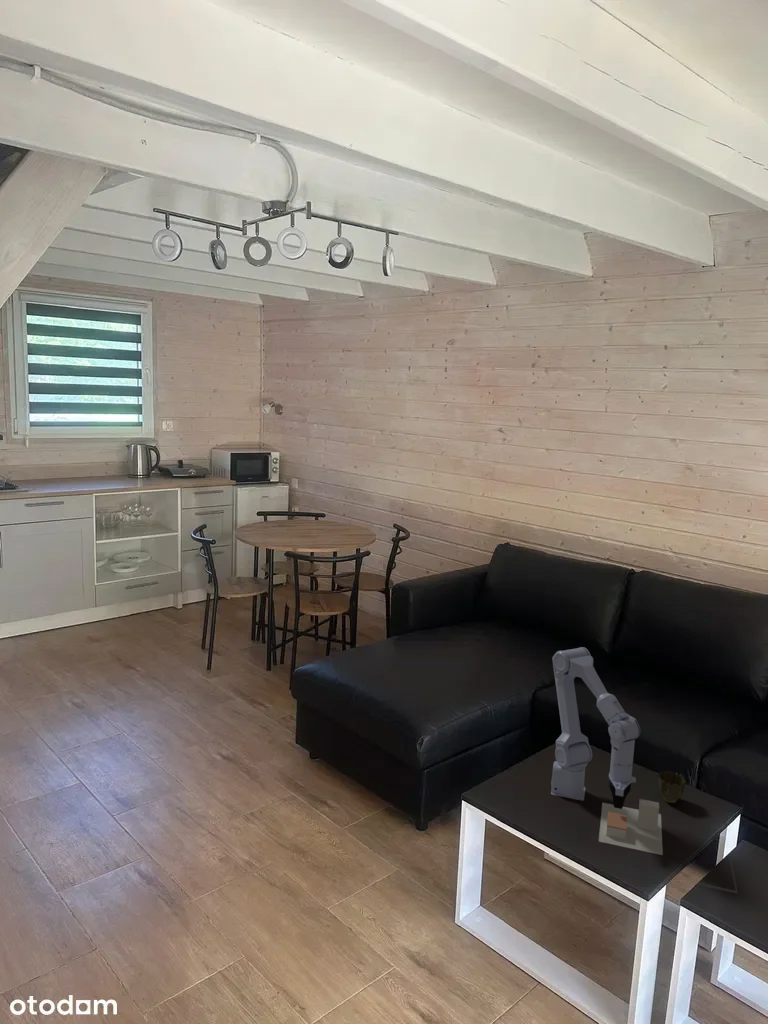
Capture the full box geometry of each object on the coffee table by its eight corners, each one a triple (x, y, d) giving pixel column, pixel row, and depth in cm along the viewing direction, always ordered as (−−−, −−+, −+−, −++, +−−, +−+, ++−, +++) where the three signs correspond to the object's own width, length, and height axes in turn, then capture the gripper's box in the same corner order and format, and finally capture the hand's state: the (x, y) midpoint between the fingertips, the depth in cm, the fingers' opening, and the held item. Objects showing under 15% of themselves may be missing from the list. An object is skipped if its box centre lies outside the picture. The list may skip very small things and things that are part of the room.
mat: (598, 843, 192) (598, 841, 192) (602, 804, 211) (602, 802, 211) (662, 857, 187) (662, 855, 187) (660, 816, 206) (660, 814, 206)
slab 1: (607, 821, 201) (606, 835, 195) (608, 811, 201) (606, 825, 194) (626, 825, 200) (625, 839, 193) (626, 815, 199) (626, 829, 193)
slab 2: (637, 827, 199) (639, 804, 198) (637, 821, 202) (639, 798, 201) (656, 831, 197) (659, 808, 196) (656, 825, 200) (658, 802, 199)
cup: (685, 810, 209) (688, 784, 208) (658, 807, 210) (661, 781, 209) (680, 796, 216) (683, 772, 215) (654, 793, 218) (657, 768, 216)
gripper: (637, 776, 189) (632, 824, 191) (637, 751, 203) (633, 796, 205) (608, 771, 191) (605, 818, 194) (611, 747, 205) (607, 791, 207)
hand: (618, 807), depth 199 cm, fingers closed
